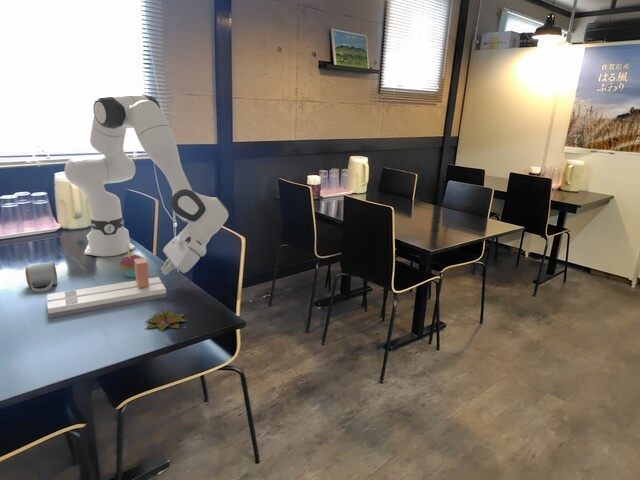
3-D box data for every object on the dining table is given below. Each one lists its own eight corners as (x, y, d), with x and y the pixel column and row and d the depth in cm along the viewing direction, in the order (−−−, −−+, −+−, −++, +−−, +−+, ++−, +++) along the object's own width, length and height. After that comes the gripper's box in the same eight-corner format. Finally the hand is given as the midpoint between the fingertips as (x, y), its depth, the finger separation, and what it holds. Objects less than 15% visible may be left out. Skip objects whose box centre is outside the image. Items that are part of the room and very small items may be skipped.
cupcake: (136, 280, 149) (134, 247, 146) (115, 277, 151) (111, 245, 148) (151, 271, 158) (148, 240, 154) (130, 269, 159) (127, 238, 156)
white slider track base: (48, 303, 130) (47, 294, 129) (159, 285, 146) (158, 276, 145) (49, 318, 121) (47, 308, 120) (166, 297, 137) (165, 288, 137)
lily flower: (150, 313, 127) (149, 299, 126) (191, 313, 128) (191, 299, 127) (137, 333, 116) (136, 318, 115) (183, 333, 117) (182, 318, 116)
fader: (136, 287, 140) (134, 259, 137) (146, 285, 141) (144, 257, 138) (139, 293, 136) (136, 263, 133) (149, 291, 137) (147, 262, 134)
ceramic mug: (29, 283, 144) (25, 261, 141) (57, 279, 148) (54, 258, 145) (27, 295, 135) (23, 273, 133) (57, 291, 139) (54, 269, 137)
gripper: (176, 227, 149) (148, 257, 147) (193, 243, 132) (162, 277, 130) (190, 237, 153) (163, 267, 150) (207, 254, 136) (178, 288, 134)
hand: (162, 272), depth 140 cm, fingers closed
